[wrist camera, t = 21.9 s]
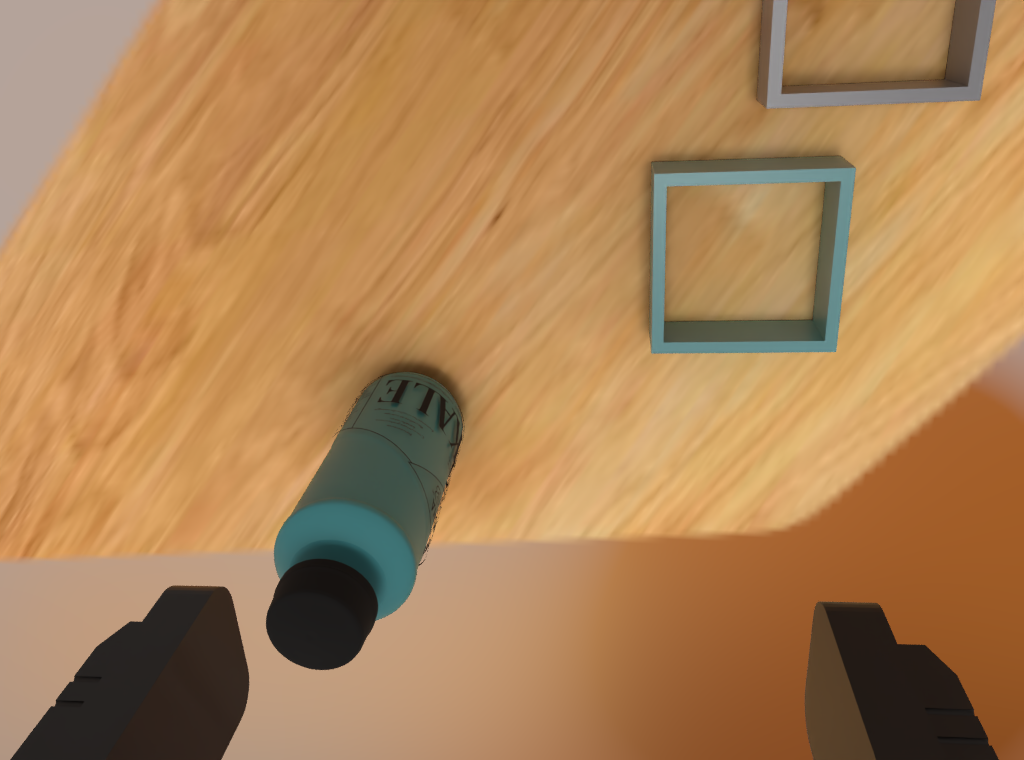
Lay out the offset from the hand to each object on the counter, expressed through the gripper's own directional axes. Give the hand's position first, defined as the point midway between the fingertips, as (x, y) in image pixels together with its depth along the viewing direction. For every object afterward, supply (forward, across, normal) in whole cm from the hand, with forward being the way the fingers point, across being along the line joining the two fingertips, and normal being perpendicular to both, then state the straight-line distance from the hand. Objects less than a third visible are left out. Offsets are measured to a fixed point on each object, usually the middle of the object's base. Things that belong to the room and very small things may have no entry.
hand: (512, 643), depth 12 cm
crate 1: (+36, -8, +5) cm, 37 cm away
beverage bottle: (+36, +10, +14) cm, 40 cm away
